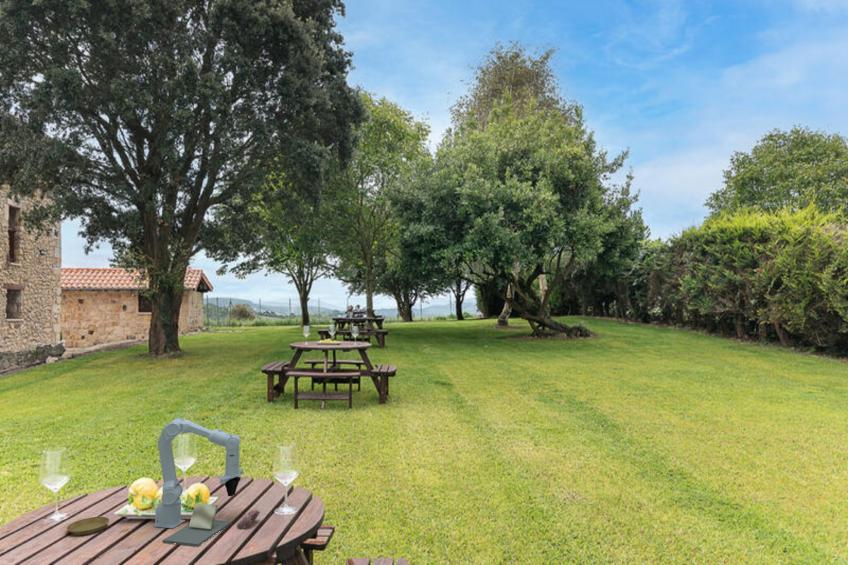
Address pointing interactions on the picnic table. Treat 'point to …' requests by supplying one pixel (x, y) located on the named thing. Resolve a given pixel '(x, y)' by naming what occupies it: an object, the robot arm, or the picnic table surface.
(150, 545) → the picnic table surface
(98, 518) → the plant saucer
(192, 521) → the tile
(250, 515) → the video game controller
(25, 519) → the picnic table surface
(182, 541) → the board
